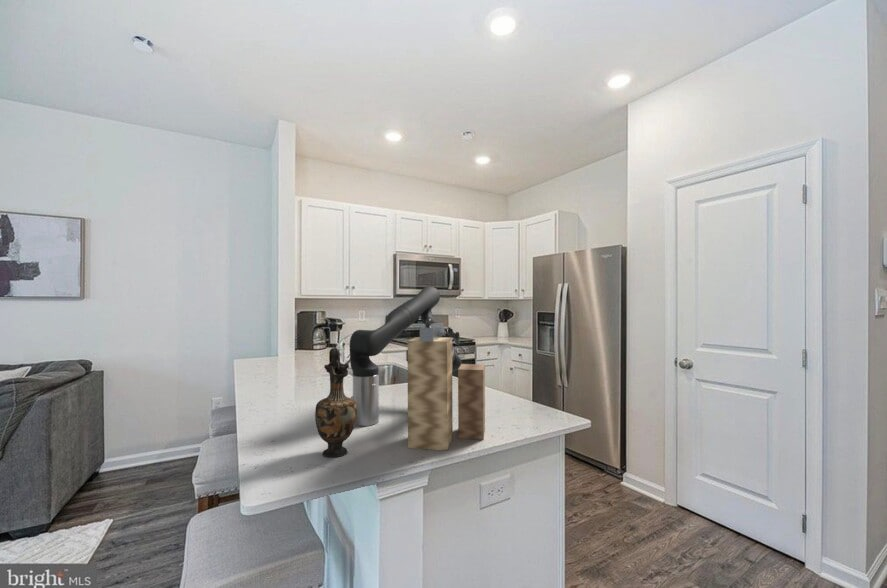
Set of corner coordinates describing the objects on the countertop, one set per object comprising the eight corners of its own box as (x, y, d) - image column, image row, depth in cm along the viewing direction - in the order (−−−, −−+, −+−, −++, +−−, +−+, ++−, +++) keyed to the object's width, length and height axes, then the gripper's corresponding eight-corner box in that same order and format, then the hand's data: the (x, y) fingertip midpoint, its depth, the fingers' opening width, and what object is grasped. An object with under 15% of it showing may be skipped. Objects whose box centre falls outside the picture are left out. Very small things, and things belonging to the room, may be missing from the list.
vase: (317, 464, 104) (317, 353, 104) (313, 447, 115) (313, 347, 116) (360, 456, 109) (360, 350, 109) (352, 441, 120) (352, 345, 120)
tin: (419, 341, 114) (419, 319, 114) (432, 334, 133) (432, 316, 133) (433, 341, 113) (433, 319, 113) (443, 335, 133) (443, 316, 133)
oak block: (407, 448, 115) (407, 340, 115) (416, 434, 126) (415, 337, 126) (447, 450, 113) (447, 341, 113) (452, 436, 124) (452, 337, 124)
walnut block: (458, 438, 123) (458, 369, 123) (461, 427, 132) (461, 363, 133) (483, 439, 121) (483, 369, 122) (485, 428, 131) (484, 364, 131)
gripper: (425, 338, 147) (417, 319, 133) (462, 339, 145) (458, 319, 131) (423, 357, 143) (414, 339, 130) (461, 358, 141) (456, 340, 127)
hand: (436, 329), depth 130 cm, fingers open, 8 cm apart
